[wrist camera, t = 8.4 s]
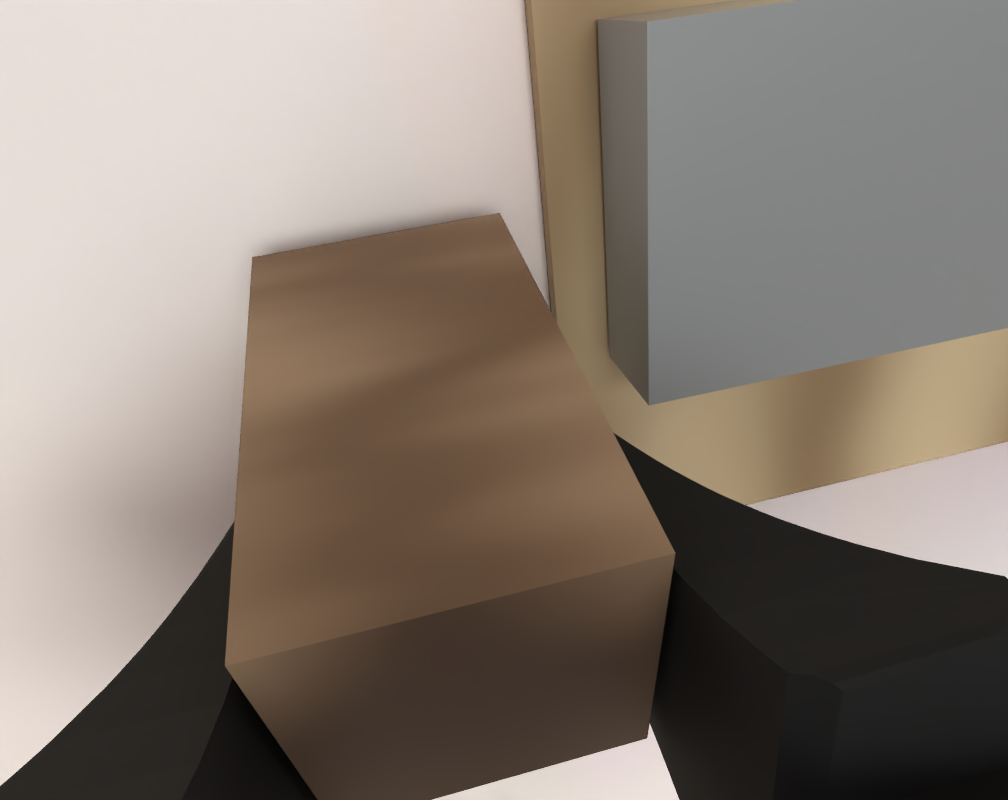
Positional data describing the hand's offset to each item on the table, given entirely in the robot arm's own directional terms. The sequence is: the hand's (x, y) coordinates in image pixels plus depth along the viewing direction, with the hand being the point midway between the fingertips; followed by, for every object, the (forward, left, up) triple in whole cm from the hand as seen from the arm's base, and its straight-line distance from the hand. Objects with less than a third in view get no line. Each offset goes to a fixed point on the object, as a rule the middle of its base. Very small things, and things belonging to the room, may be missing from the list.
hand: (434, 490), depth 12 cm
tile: (-8, -6, -2) cm, 10 cm away
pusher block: (0, -2, -2) cm, 3 cm away
